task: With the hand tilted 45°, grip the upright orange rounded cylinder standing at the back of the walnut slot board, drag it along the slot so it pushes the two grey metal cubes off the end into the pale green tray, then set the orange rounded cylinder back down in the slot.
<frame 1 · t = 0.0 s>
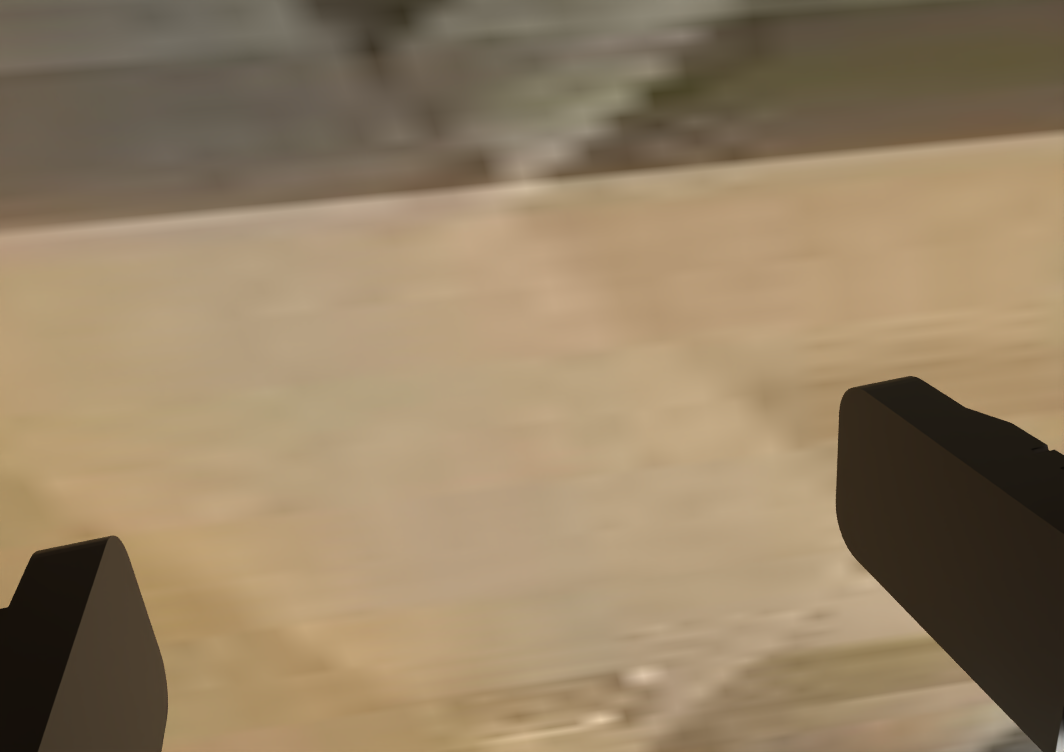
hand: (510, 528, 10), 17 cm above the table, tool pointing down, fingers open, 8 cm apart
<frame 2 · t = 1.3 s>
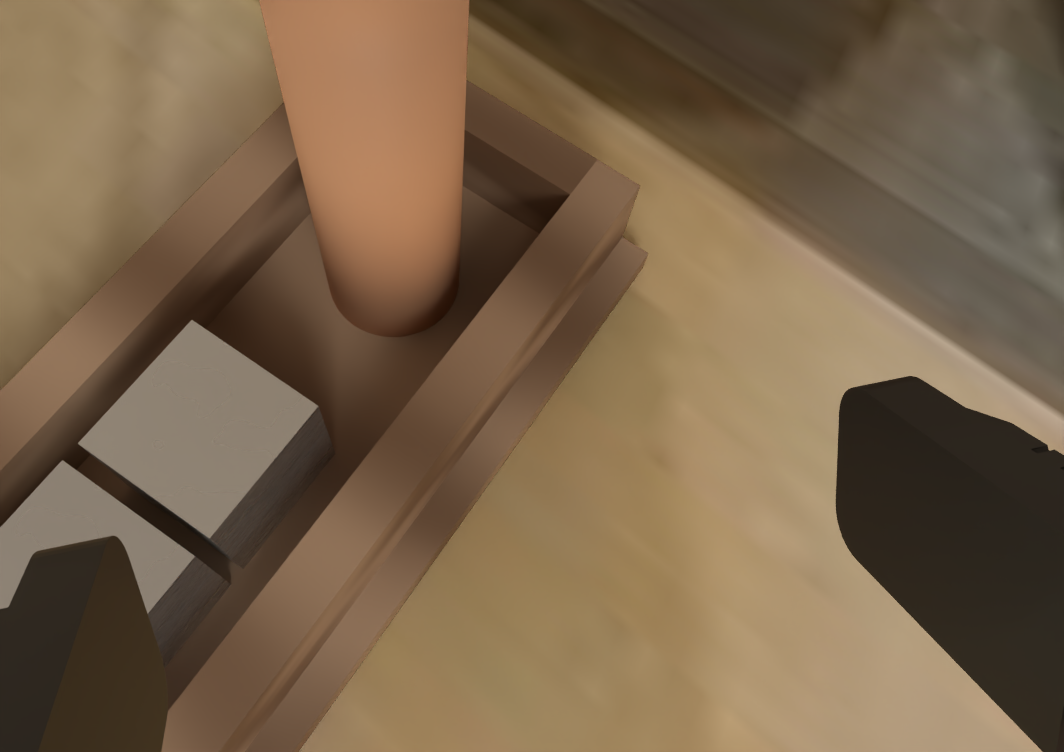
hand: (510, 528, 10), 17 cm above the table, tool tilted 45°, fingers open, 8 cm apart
chip a: (234, 469, 27), point 1 cm above the table, touching slot board
slot board: (306, 400, 28), on the table
orange rounded cylinder: (394, 278, 29), point 1 cm above the table, touching slot board
chip b: (121, 604, 25), point 1 cm above the table, touching slot board
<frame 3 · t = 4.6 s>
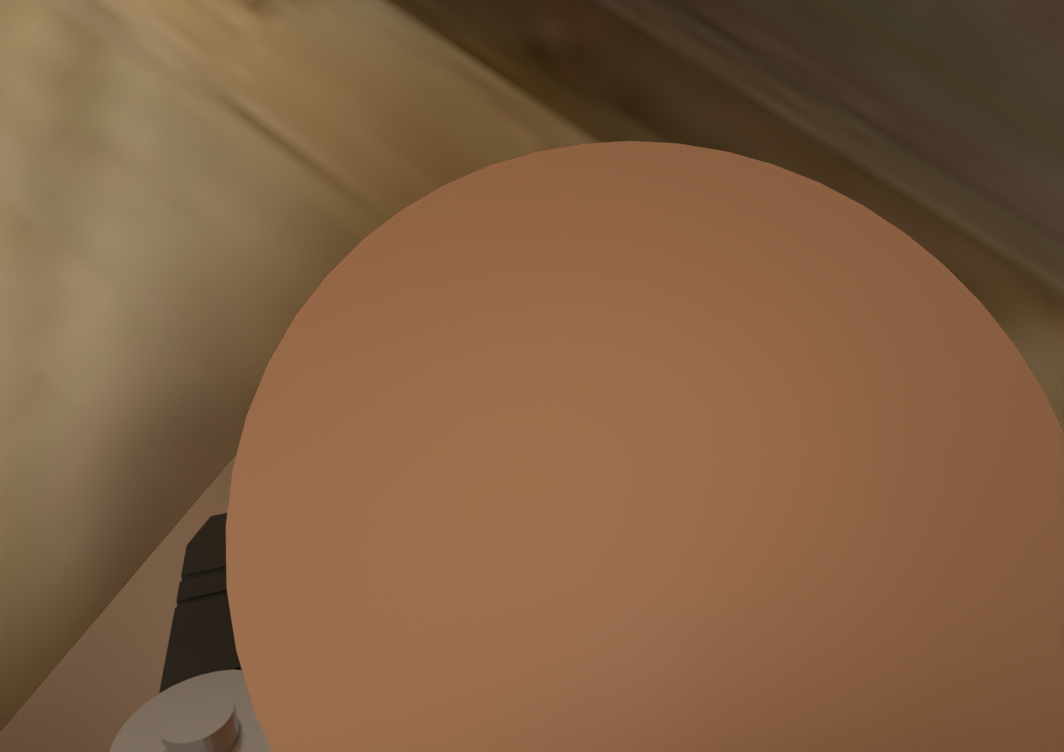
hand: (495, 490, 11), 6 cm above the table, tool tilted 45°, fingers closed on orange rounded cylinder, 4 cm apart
orange rounded cylinder: (505, 687, 15), point 1 cm above the table, touching gripper, slot board
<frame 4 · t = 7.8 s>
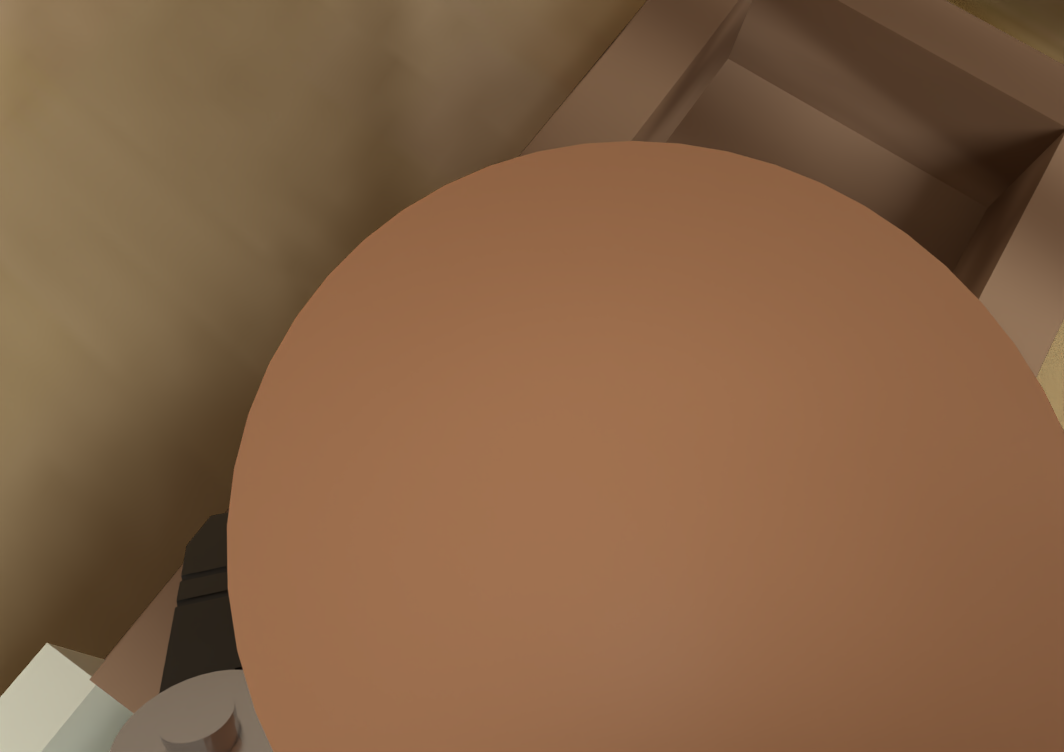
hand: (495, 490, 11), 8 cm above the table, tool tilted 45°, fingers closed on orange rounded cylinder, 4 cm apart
slot board: (667, 422, 20), on the table
orange rounded cylinder: (505, 684, 15), point 3 cm above the table, touching chip a, gripper
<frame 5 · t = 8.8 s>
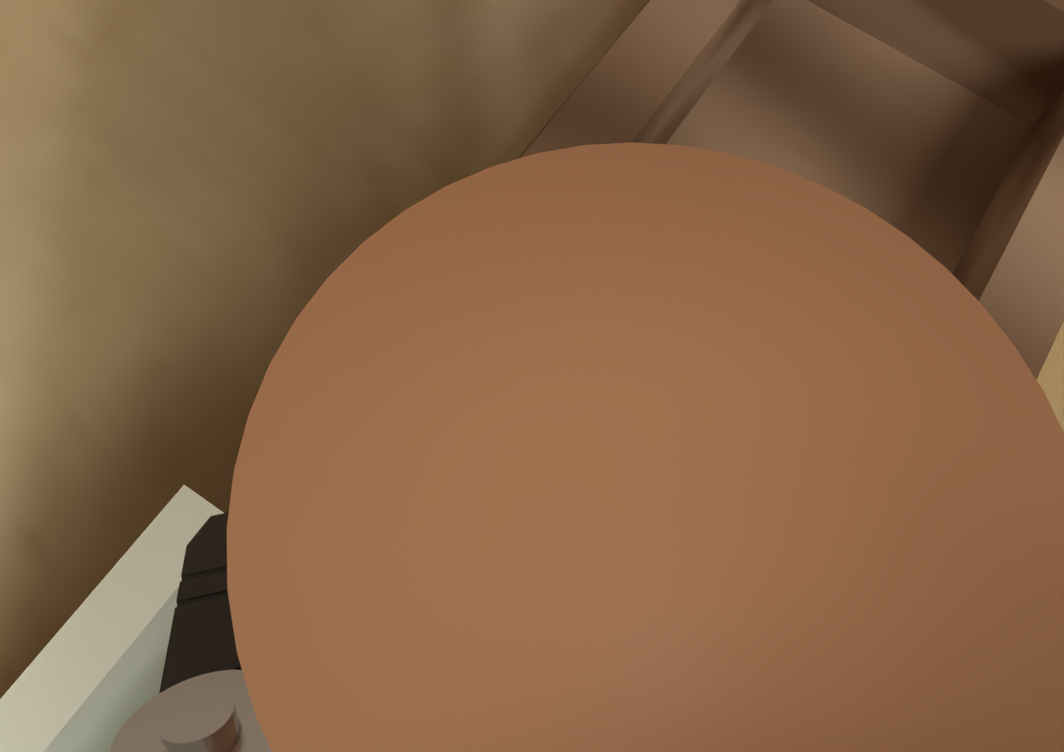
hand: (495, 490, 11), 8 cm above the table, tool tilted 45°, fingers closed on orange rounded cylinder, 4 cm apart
slot board: (733, 322, 21), on the table
orange rounded cylinder: (505, 684, 15), point 3 cm above the table, touching chip a, gripper
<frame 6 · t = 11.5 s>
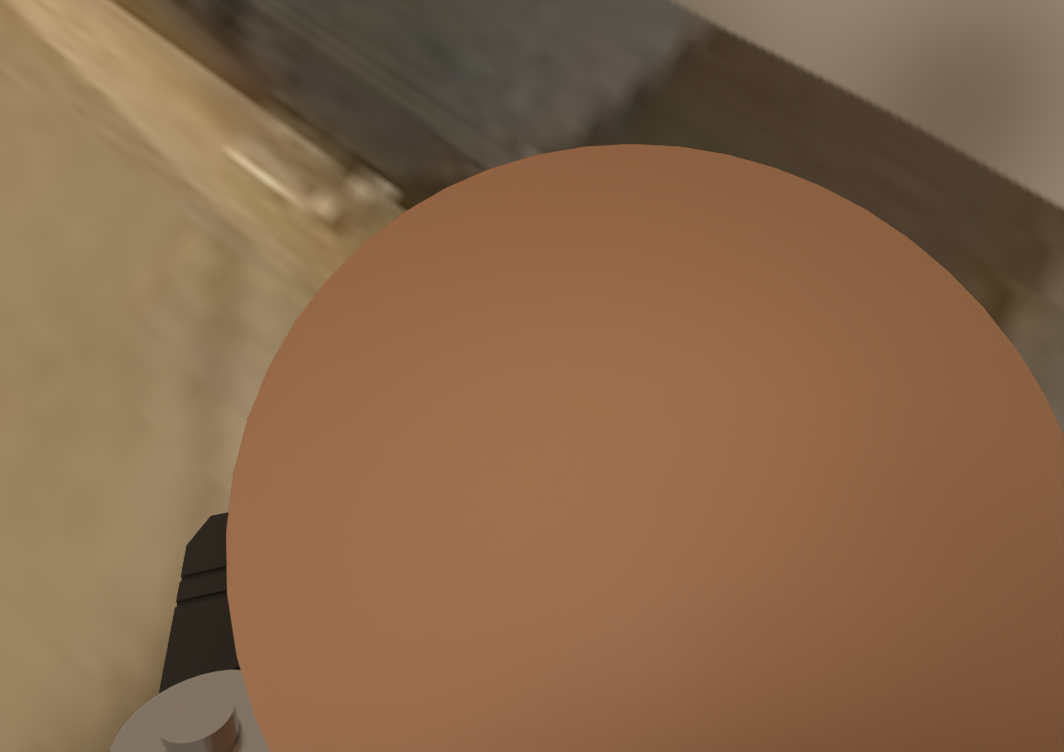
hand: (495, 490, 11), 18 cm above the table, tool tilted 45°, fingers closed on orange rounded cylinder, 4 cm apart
orange rounded cylinder: (505, 685, 15), point 12 cm above the table, touching gripper
when the fingers open (7 cm above the table, at t = 13.9 s): orange rounded cylinder stays where it is, resting on slot board.
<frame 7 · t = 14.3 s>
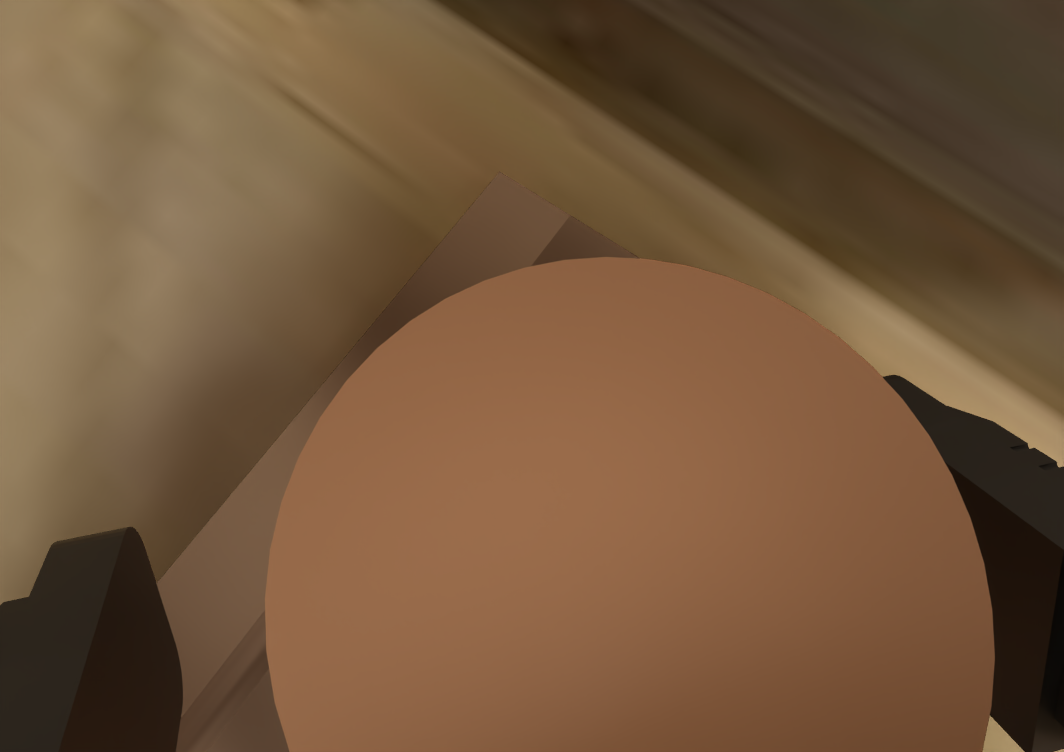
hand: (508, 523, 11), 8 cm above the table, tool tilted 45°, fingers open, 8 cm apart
orange rounded cylinder: (500, 696, 16), point 1 cm above the table, touching slot board
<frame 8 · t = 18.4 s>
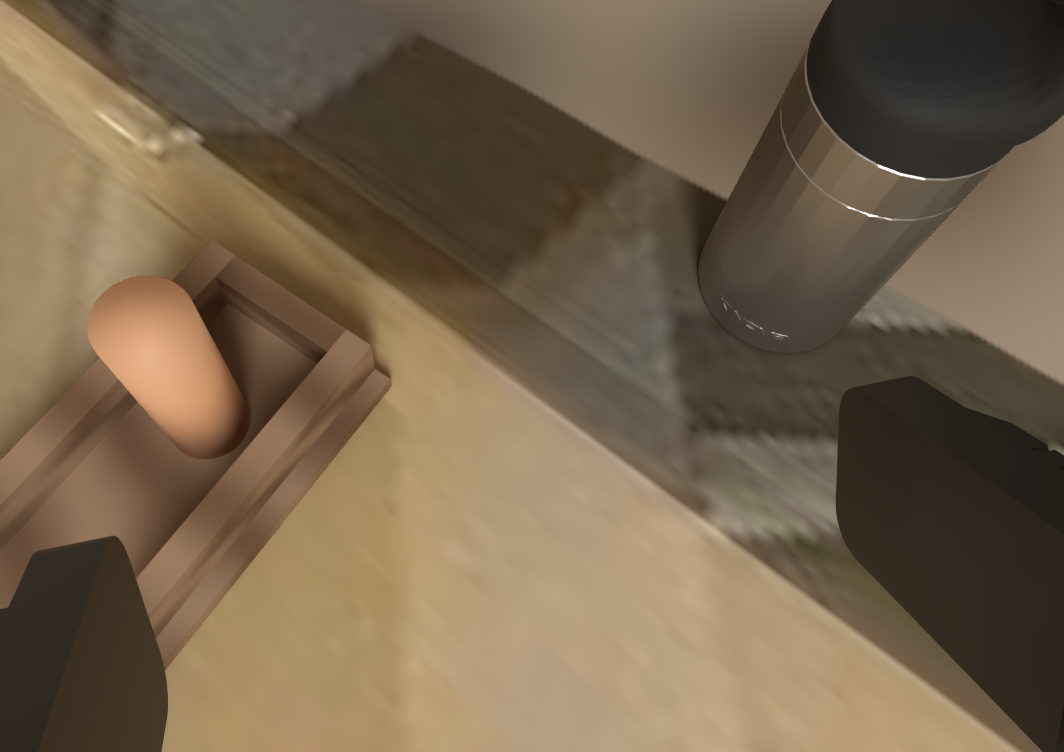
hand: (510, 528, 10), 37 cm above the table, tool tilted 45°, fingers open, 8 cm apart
slot board: (173, 472, 47), on the table
orange rounded cylinder: (209, 420, 47), point 1 cm above the table, touching slot board
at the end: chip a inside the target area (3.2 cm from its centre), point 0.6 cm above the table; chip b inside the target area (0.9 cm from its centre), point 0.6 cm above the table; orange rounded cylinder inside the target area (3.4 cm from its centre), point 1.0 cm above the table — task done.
